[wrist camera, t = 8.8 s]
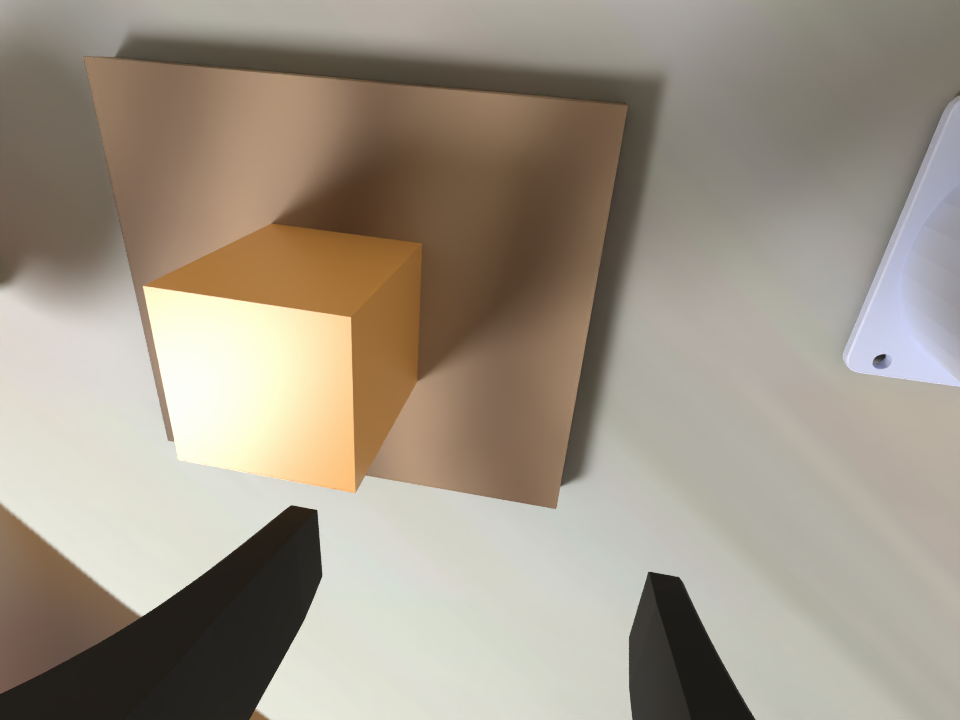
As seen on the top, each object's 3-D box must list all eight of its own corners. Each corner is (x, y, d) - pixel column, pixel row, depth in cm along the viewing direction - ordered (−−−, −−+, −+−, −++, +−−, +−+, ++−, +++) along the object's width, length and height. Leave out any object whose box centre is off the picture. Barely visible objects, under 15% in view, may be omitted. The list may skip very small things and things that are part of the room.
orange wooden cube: (422, 243, 18) (350, 317, 13) (417, 382, 20) (355, 493, 15) (271, 223, 18) (142, 285, 13) (283, 360, 21) (178, 459, 15)
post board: (625, 103, 16) (640, 119, 11) (557, 488, 23) (548, 607, 18) (112, 57, 18) (-71, 53, 13) (186, 424, 25) (82, 515, 20)
